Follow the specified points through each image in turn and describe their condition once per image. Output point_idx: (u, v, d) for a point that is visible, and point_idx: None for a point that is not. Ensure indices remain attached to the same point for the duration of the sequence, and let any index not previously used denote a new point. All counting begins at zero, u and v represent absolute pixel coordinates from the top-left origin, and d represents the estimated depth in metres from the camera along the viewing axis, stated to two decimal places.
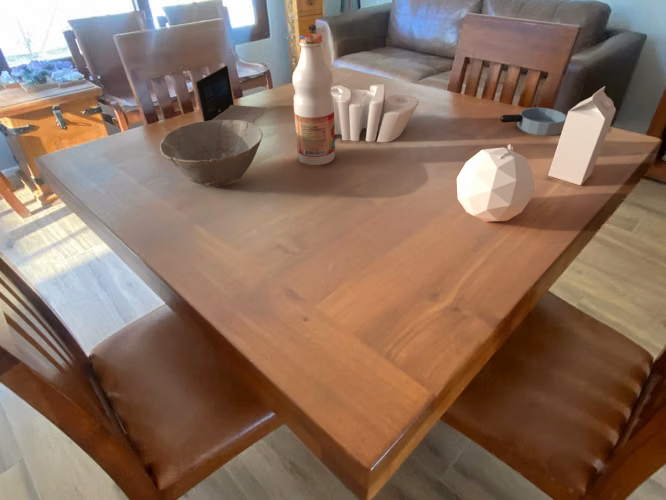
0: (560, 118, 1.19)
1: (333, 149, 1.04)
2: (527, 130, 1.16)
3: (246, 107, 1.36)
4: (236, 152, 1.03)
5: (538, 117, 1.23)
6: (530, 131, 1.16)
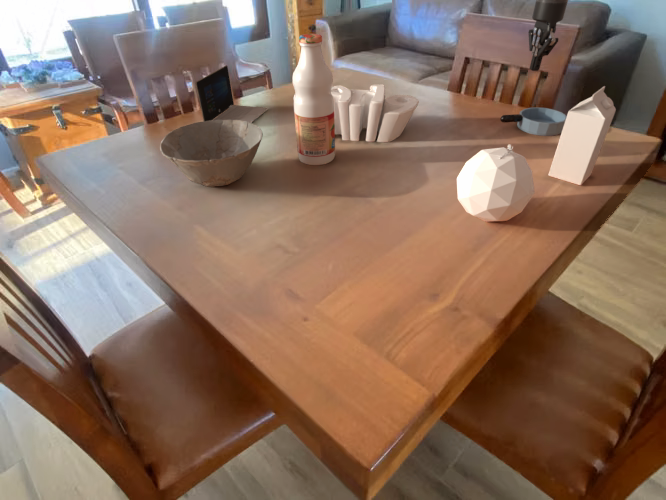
0: (560, 118, 1.19)
1: (333, 149, 1.04)
2: (527, 130, 1.16)
3: (246, 107, 1.36)
4: (236, 152, 1.03)
5: (538, 117, 1.23)
6: (530, 131, 1.16)
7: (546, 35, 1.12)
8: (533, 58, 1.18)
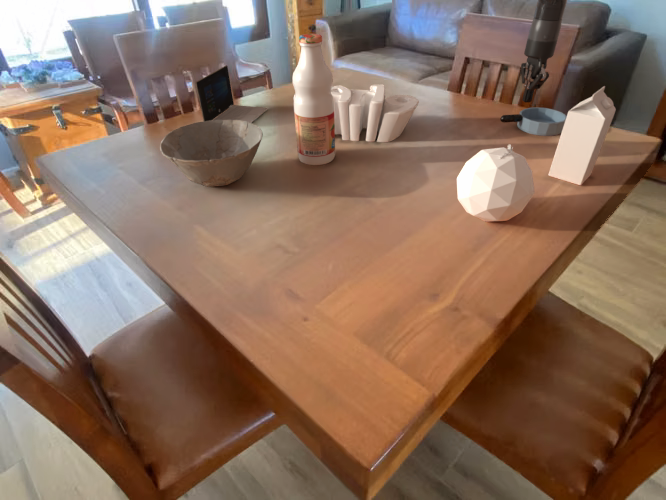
0: (560, 118, 1.19)
1: (333, 149, 1.04)
2: (527, 130, 1.16)
3: (246, 107, 1.36)
4: (236, 152, 1.03)
5: (538, 117, 1.23)
6: (530, 131, 1.16)
7: (537, 70, 1.17)
8: (525, 91, 1.23)
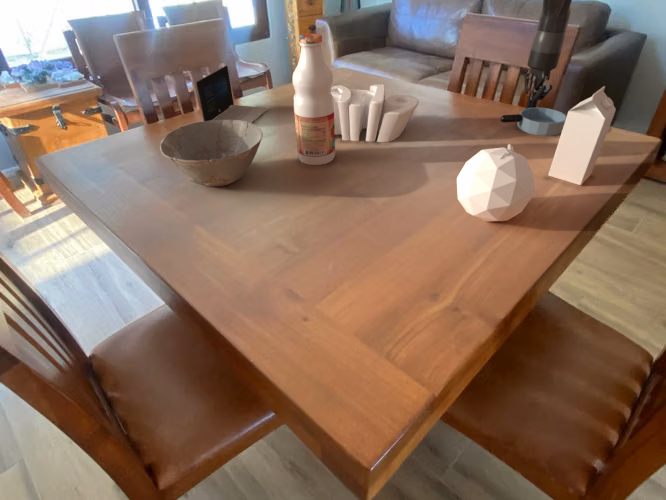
0: (560, 118, 1.19)
1: (333, 149, 1.04)
2: (527, 130, 1.16)
3: (246, 107, 1.36)
4: (236, 152, 1.03)
5: (538, 117, 1.23)
6: (530, 131, 1.16)
7: (541, 82, 1.16)
8: (528, 101, 1.22)
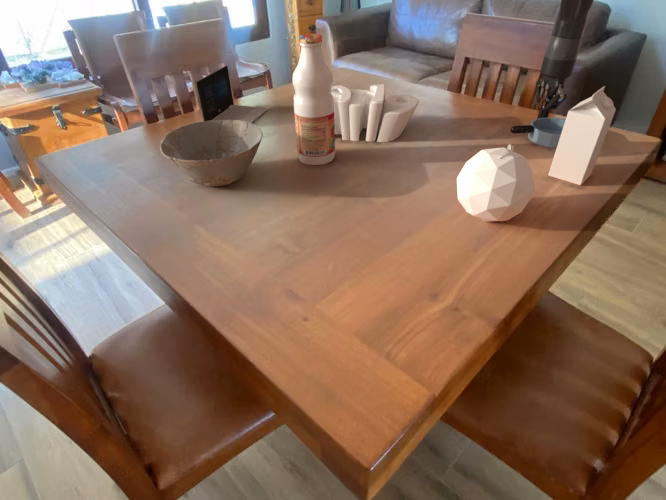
0: None
1: (333, 149, 1.04)
2: (539, 142, 1.10)
3: (246, 107, 1.36)
4: (236, 152, 1.03)
5: (550, 127, 1.17)
6: (542, 143, 1.09)
7: (554, 90, 1.09)
8: (540, 110, 1.16)
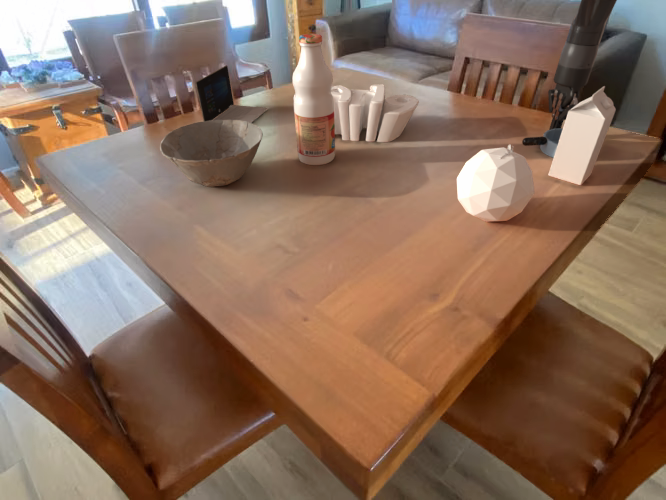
0: None
1: (333, 149, 1.04)
2: (552, 155, 1.04)
3: (246, 107, 1.36)
4: (236, 152, 1.03)
5: None
6: None
7: (569, 100, 1.03)
8: (553, 121, 1.10)
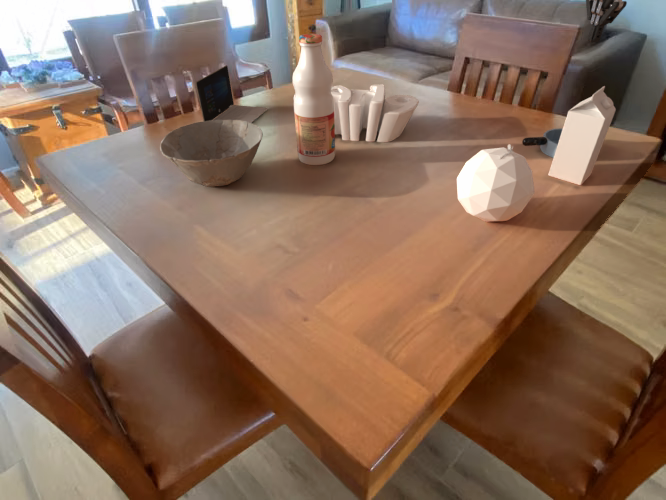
0: None
1: (333, 149, 1.04)
2: (552, 155, 1.04)
3: (246, 107, 1.36)
4: (236, 152, 1.03)
5: None
6: None
7: None
8: (593, 28, 1.03)
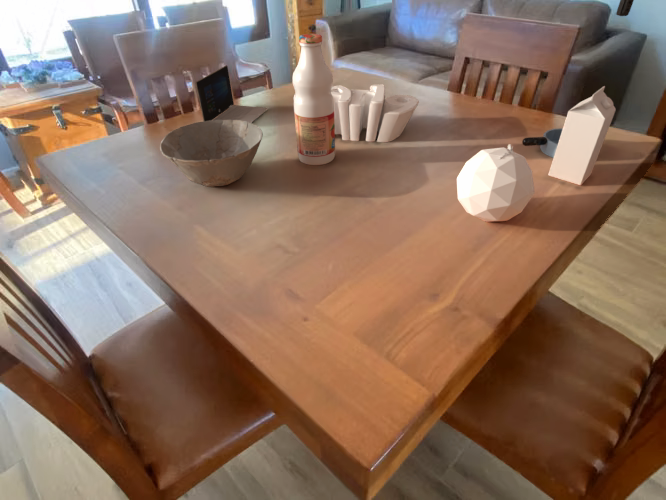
0: None
1: (333, 149, 1.04)
2: (552, 155, 1.04)
3: (246, 107, 1.36)
4: (236, 152, 1.03)
5: None
6: None
7: None
8: (622, 1, 1.03)
